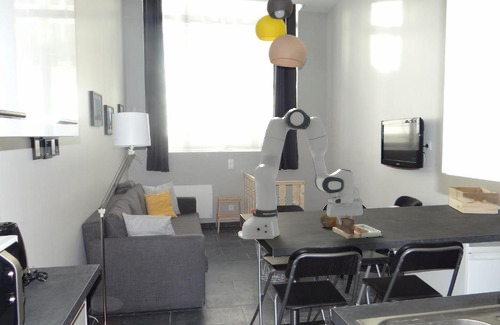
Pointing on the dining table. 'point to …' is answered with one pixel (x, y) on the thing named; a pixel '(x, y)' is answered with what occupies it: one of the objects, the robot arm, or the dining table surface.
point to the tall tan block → (345, 225)
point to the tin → (328, 220)
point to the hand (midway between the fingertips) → (344, 224)
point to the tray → (371, 230)
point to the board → (346, 235)
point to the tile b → (361, 230)
